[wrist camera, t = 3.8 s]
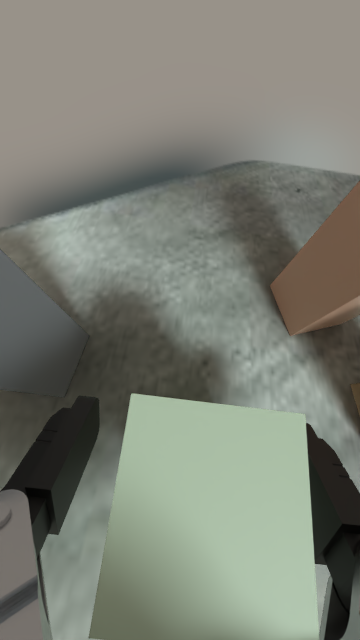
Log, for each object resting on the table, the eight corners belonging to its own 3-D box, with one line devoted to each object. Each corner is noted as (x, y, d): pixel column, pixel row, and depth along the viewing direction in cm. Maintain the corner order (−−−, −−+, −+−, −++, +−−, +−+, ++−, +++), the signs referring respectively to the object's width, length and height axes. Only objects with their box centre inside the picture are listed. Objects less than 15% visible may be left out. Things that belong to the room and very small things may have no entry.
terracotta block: (317, 276, 19) (471, 143, 9) (340, 324, 17) (545, 226, 8) (269, 285, 18) (381, 154, 9) (290, 335, 17) (446, 245, 8)
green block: (217, 410, 15) (305, 414, 6) (212, 487, 14) (320, 661, 4) (152, 403, 15) (131, 393, 6) (141, 479, 14) (89, 637, 4)
